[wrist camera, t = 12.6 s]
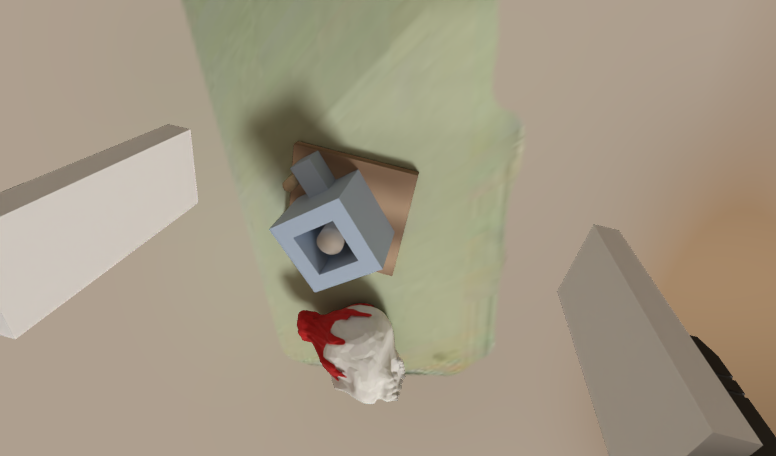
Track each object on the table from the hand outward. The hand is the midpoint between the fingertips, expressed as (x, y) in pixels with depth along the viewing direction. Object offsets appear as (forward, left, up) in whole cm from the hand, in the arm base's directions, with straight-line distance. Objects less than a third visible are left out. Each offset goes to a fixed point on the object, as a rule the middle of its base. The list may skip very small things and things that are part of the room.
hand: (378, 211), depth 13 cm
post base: (+15, -6, -26) cm, 30 cm away
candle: (+31, -2, -26) cm, 40 cm away
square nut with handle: (+14, -7, -25) cm, 29 cm away
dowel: (+12, -11, -26) cm, 30 cm away
